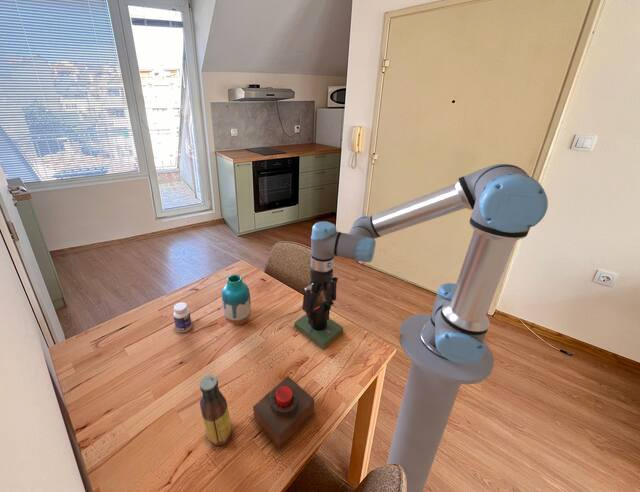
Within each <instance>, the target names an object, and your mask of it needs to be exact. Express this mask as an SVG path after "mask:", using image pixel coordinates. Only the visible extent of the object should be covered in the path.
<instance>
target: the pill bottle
mask: <svg viewBox="0 0 640 492" xmlns="http://www.w3.org/2000/svg"><path fill="white" fill-rule="evenodd" d="M172 315H173V320H174V326H175V330H176V331H177V332H178V333H185V332H188V331H189V330H190V329H191V328H192V319H191V311H190V308H188V304H187V303H186V302H182V301H181V302H178V303H175V304H174V306H173V314H172Z"/></svg>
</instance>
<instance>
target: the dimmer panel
mask: <svg viewBox="0 0 640 492" xmlns="http://www.w3.org/2000/svg"><path fill="white" fill-rule="evenodd" d="M293 327H294V329H296V330H297V331H298V332H300V333H301V334H302V335H304V336H305V337H306V338H308V340H310V341H312V342H313V343H315V344H316V345H317V346H319V347H320V348H321V349H323V350H324V349H325V348H327V347H328V346H329V345H330V344H332V343H333V342H334V341H335V340H336V339H337V338H338V337H339V336H341V334H343V331H344V327H343V326H342V325H341V324H339V323H338V322H336V321H334V320H333V319H331V318H329V319H328V320H327V327H326V328H325V329H324V330H322V331H317V330H314V329H313V328H312V327H311V325H310V324H309V323H308V318H307V313H305V314H304V315H303V316H301V317H300V318H298V319H297V320H296V321H294V325H293Z"/></svg>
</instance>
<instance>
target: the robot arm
mask: <svg viewBox="0 0 640 492" xmlns="http://www.w3.org/2000/svg"><path fill="white" fill-rule="evenodd" d="M548 207H549V200H548V195H547V193H546V191H545V189H544V187H543V185H541V183H540V182H539V181H538V180H536V179H535V178H534V177H532V176H530V174H528V172H526V171H525V170H524V169H523V168H521V167H520V166H517V165H514V164H509V163H498V164H493V165H489V166H486V167H484V168H480V169H477V170H476V171H474V172H471V173H468V174H466V175H463V176H461V177H457V179H456V181H455V182H454V183H453V184H450V185H447V186H444V187H442V188H440V189H437V190H435V191H432V192H429V193H426V194H424V195H422V196H419V197H416V198H414V199H411V200H409V201H406V202H404V203H401V204H399V205H396V206H393V207H391V208H388V209H386V210H383V211H380V212H377V213H375V214H373V215H370V216H369V215H362V216H359V217H357V218H356V220H355V221H354V222H353V224H352V225H351V228H350V230H349V231H348V233H347V232H341V231H337V226H336V225H335V223H332V222H329V221H318V222H316V223H314V224H313V226H312V229H311V236H310V262H309V263H310V265H309V266H310V268H309V277H310V282H309V285H307V286H305V285H304V286H303V287H302V290H303V298H302V308H301V309H302V311H304V313H305V314H307V318H308V323H309V324H310V325H311V326H312V327H314V326H315V311H314V308H315V305H316V302H318V298H319V297H320V295H321V293H323V296H324V300H323V302H322V303H325V304H326V305H327V306H328V316H327V320H328V319H330V311H331V308H332V306H334V304H335V303H334V302H335V301H336V300H337V283H338V280H339V277H337V276H336V275H334V262H335V261H334V260H335V257H340V258H343V259H347V260H353V261H356V262H362V263H371V262H372V261H373V259H374V255H375V251H376V244H377V243H376V242H377V241H376V240H375V239H378V238H381V237H383V236H386V235H389V234H393V233H396V232H398V231H402V230H405V229H408V228H411V227H414V226H416V225H420V224H422V223H425V222H429V221H431V220H435V219H437V218H441V217H443V216H447V215H449V214H452V213H453V214H454V213H455V212H458V211H459V212H460V211H462V210H465V209H467V210H469V211H471V215H470V219H469V222H468V223H469V225H470V226H471V228H472V229H473V232H472V235H471V238H470V241H469V245H468V248H467V251H466V253H465V256H464V259H463V262H462V266H461V268H460V272H459V274H458V278H457V281H456V283H453V282H451V283H450V282H446V283H443V284H440V285H439V287H438V289H437V291H436V296H435V300H434V304H433V307H432V311H431V314H432V315H431V319H430V320H429V321H428V322H427V323H426V324H425V325H424V327H423V328H422V331H421V334H420V338H421V341H422V343H423V345H424V346H425V347H426V348H427V349H428V350H429V351H430V352H431V353H433V354H434V355H436V356H438V357H440V358H443V359H446V360H450V361H453V362H456V363H460V364H469V363H476V362H479V361H480V360H482V358H483V357H484V354H485V346H484V345H483V341H485V337H486V335H487V333H488V330H489V327H490V326H491V323H490V319H489V317H488V316H487V313H488V311H489V309H490V306H491V304H492V302H493V300H494V297H495V295H496V291H497V289H498V287H499V284H500V282H501V279H502V276H503V274H504V272H505V269H506V267H507V265H508V262H509V259H510V257H511V254H512V252H513V250H514V246H515V244H516V242H517V241H519V240H522V239H525V238H526V237H528V234H529V232H530V230H531V228H532V227H535V226H537V225H538V224H539V223H540V222H541V221H542V220H543V218H545V216H546V214H547V212H548ZM333 301H334V302H333Z"/></svg>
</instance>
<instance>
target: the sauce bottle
mask: <svg viewBox="0 0 640 492" xmlns="http://www.w3.org/2000/svg"><path fill="white" fill-rule="evenodd" d="M199 389H200V391H201V393H202V397H201V398H200V400H199V406H200V411H201V416H202V417H201V418H202V421H203V424H204V429H205V433H206V437H207V439H208V440H209V442H210V444H212V445H214V446H222V445H224V444H225V443H226V442H228V440H230V437H231V435H232V422H231V417H230V413H229V407H228V403H227V399H226V397H225V395H224V394H223V393H222V392H221V391H220V389H219V381H218V377H217V376H215V375H214V374H207V375H205V376H204V377H202V379H201V380H200V382H199Z"/></svg>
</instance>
